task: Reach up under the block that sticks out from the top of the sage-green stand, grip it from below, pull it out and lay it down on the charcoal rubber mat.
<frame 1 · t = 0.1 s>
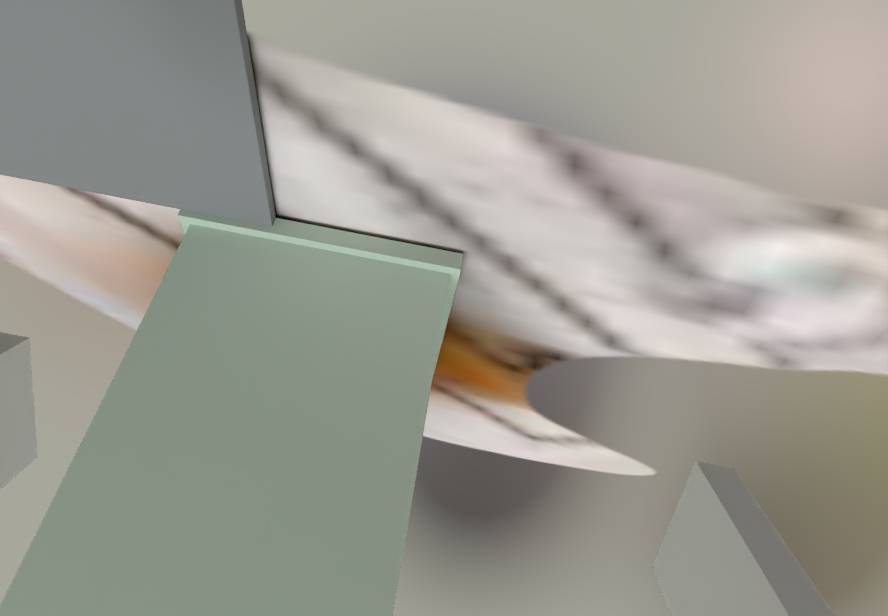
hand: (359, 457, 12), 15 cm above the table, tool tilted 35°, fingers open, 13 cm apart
mat: (30, 56, 23), on the table
stand: (329, 298, 35), on the table
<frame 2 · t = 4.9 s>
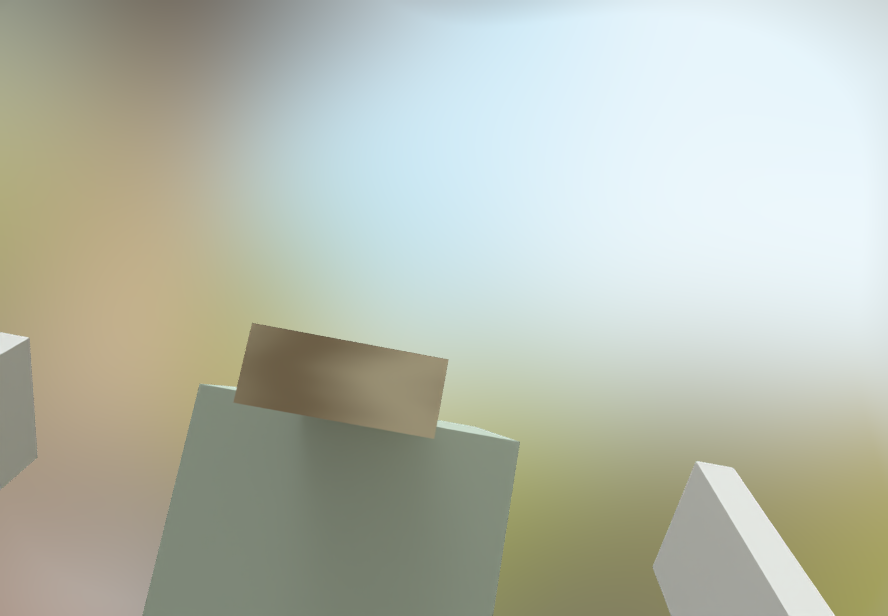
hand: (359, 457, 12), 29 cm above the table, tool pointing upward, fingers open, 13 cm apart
block: (364, 412, 24), point 30 cm above the table, touching stand
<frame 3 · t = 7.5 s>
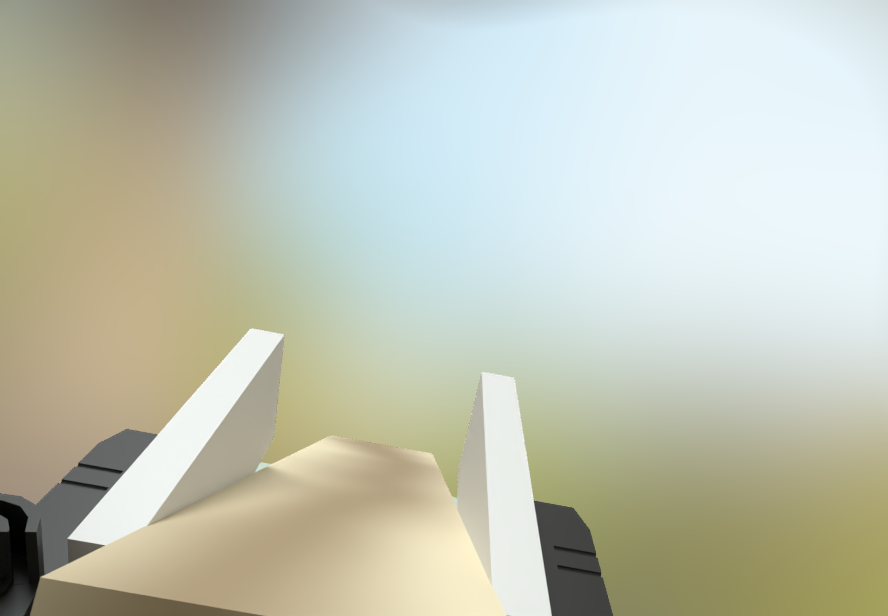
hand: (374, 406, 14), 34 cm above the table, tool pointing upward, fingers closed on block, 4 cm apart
block: (351, 544, 16), point 30 cm above the table, touching gripper, stand
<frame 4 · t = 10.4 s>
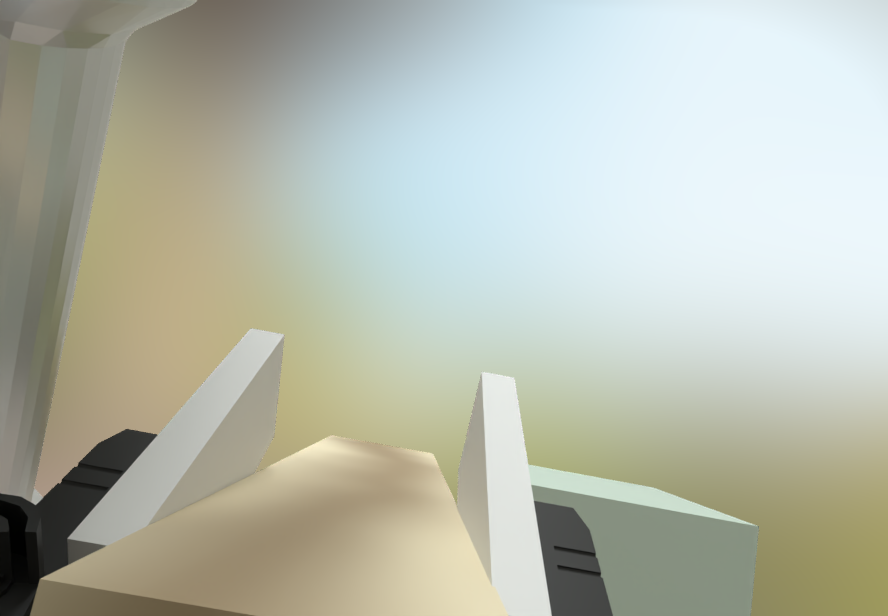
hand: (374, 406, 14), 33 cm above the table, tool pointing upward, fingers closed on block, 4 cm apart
block: (352, 545, 16), point 29 cm above the table, touching gripper
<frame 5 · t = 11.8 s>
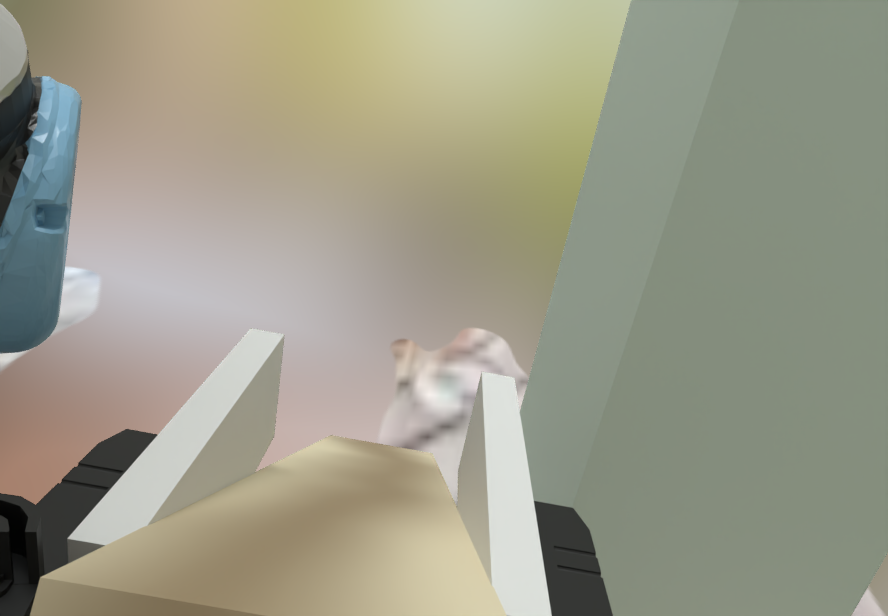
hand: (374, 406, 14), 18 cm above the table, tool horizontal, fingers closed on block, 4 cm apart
block: (351, 544, 16), point 14 cm above the table, tilted 30°, touching gripper
stand: (605, 614, 32), on the table
when the fingers open (11 cm above the table, at t = 13.7 s): block drops 6 cm, resting on mat.
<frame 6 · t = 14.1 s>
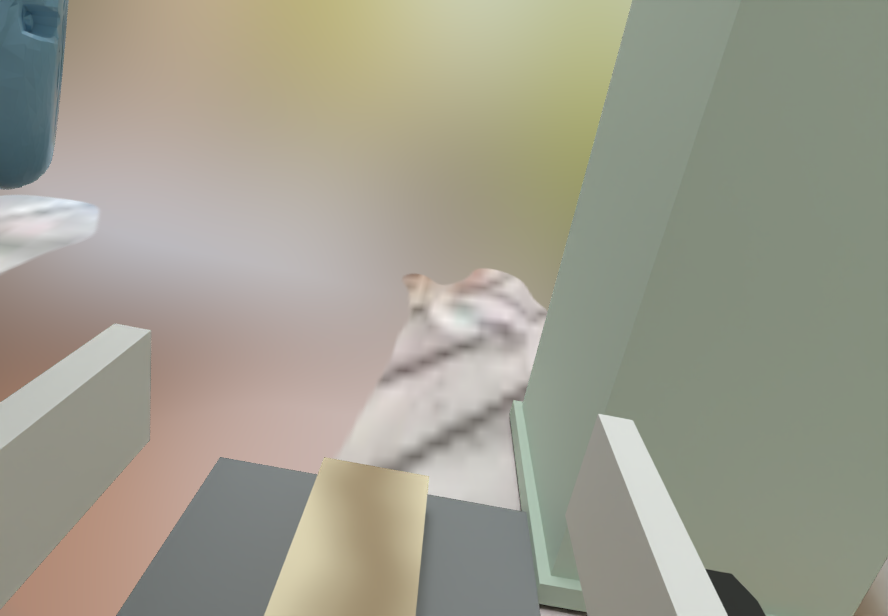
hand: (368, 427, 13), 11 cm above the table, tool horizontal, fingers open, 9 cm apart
stand: (645, 510, 30), on the table
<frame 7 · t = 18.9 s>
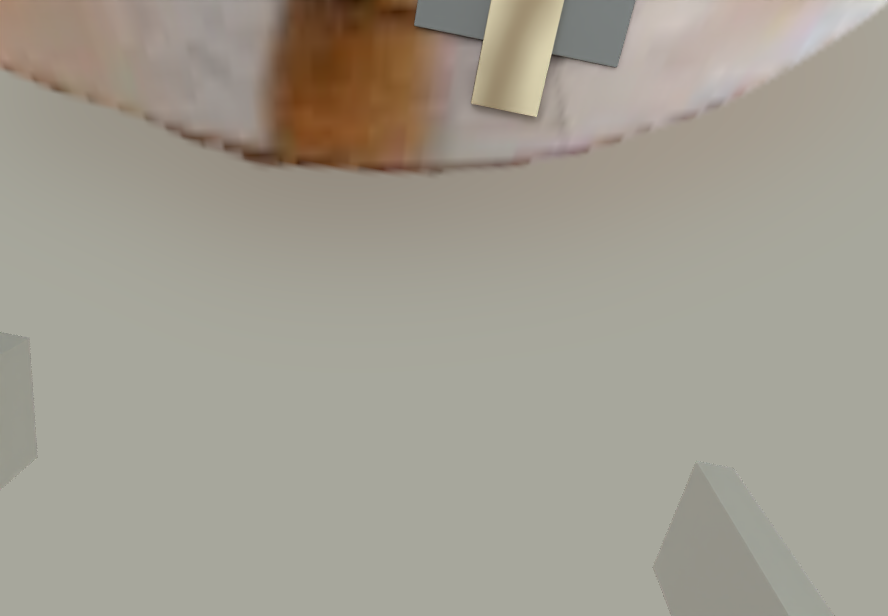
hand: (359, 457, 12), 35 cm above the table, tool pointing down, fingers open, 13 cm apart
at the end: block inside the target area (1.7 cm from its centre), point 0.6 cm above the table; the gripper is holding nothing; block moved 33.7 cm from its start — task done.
